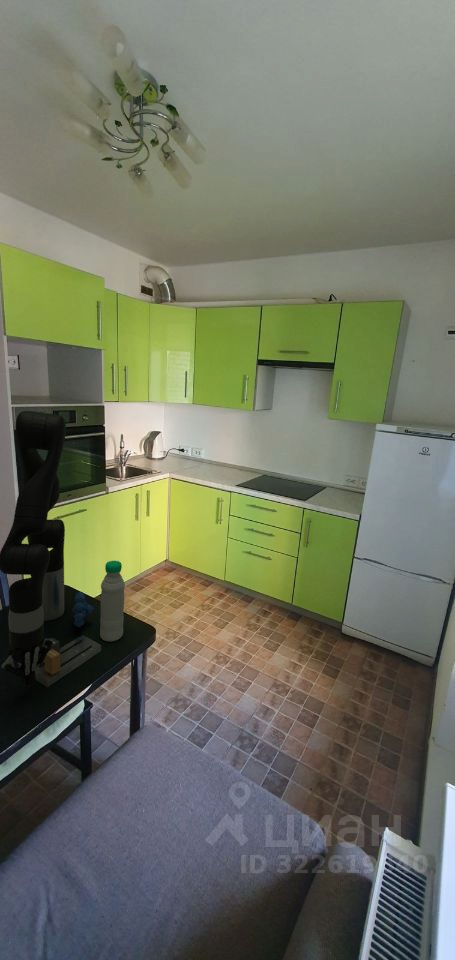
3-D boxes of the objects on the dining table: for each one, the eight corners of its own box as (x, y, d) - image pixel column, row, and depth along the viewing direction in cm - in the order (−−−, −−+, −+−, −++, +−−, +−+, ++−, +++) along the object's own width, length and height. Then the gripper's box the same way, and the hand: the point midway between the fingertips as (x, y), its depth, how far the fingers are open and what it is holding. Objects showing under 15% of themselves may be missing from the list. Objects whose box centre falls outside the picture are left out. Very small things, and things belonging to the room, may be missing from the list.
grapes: (93, 635, 122) (93, 601, 119) (70, 638, 120) (70, 603, 117) (93, 614, 133) (94, 582, 130) (72, 616, 131) (72, 584, 128)
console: (27, 674, 104) (27, 667, 103) (82, 640, 119) (82, 634, 119) (47, 687, 100) (46, 680, 100) (101, 650, 116) (101, 644, 115)
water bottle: (116, 644, 119) (118, 569, 113) (95, 639, 120) (96, 565, 115) (126, 631, 126) (129, 560, 120) (106, 627, 127) (108, 556, 121)
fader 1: (45, 657, 107) (44, 641, 106) (52, 653, 109) (52, 637, 108) (52, 662, 106) (51, 645, 105) (59, 657, 108) (59, 641, 107)
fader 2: (45, 670, 103) (44, 653, 102) (52, 665, 105) (52, 648, 104) (52, 675, 101) (52, 658, 100) (60, 669, 103) (60, 653, 102)
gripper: (41, 605, 101) (42, 662, 104) (-11, 629, 89) (-8, 693, 93) (60, 615, 97) (61, 674, 101) (8, 642, 86) (11, 707, 90)
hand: (28, 683), depth 97 cm, fingers closed
